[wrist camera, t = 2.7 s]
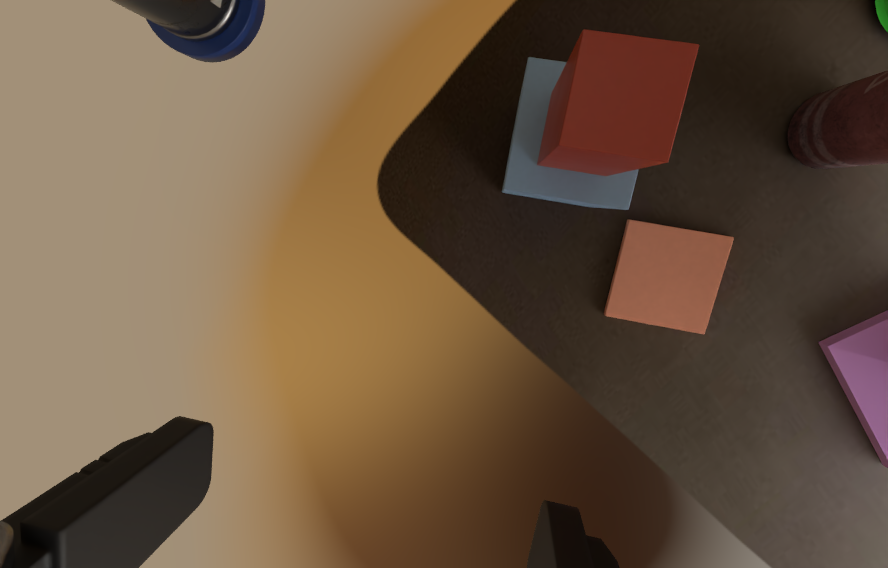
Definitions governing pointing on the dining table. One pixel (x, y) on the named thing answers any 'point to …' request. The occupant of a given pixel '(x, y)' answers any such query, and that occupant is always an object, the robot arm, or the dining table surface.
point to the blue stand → (526, 147)
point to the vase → (864, 375)
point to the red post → (616, 104)
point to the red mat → (667, 276)
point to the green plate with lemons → (882, 12)
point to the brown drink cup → (843, 126)
